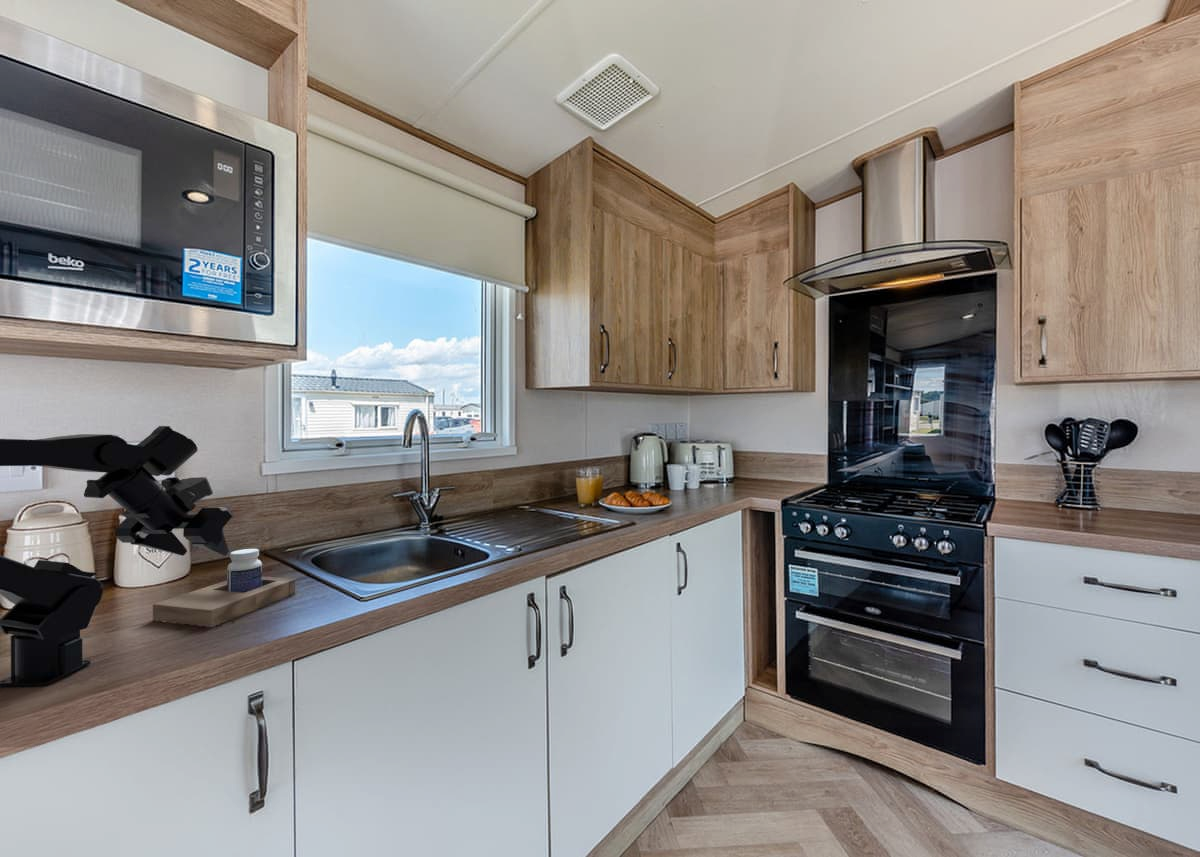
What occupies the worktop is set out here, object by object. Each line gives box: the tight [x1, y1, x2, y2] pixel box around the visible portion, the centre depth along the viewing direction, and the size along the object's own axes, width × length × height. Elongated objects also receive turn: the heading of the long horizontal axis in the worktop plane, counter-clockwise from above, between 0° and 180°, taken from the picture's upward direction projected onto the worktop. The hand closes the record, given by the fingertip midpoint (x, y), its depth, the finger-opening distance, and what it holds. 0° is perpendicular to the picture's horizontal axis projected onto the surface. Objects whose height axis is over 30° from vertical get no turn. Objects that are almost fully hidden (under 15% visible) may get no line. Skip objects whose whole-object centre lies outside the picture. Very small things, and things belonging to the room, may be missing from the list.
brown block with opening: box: [152, 576, 296, 628], centre depth 97 cm, size 18×13×3 cm
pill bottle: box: [226, 548, 263, 593], centre depth 101 cm, size 6×6×10 cm
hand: (205, 553), depth 92 cm, fingers open, 9 cm apart
